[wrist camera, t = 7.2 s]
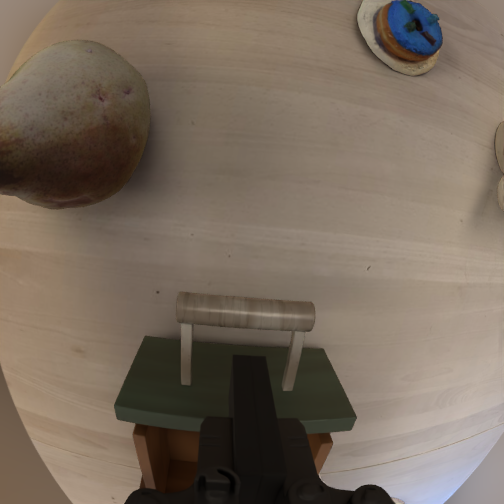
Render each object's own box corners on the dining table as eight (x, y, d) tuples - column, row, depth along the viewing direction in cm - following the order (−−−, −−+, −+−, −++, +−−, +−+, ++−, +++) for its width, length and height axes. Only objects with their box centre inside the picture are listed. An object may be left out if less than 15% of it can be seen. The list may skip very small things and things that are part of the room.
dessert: (409, 95, 18) (417, 33, 12) (342, 55, 20) (334, -3, 15) (455, 56, 17) (465, 4, 12) (395, 22, 20) (394, -28, 14)
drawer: (143, 259, 20) (98, 309, 12) (339, 276, 21) (390, 330, 13) (157, 453, 25) (145, 514, 17) (289, 460, 26) (302, 520, 18)
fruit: (25, 165, 18) (-94, 178, 6) (76, 52, 16) (-21, -10, 5) (130, 220, 20) (29, 280, 8) (192, 94, 18) (147, 6, 6)
